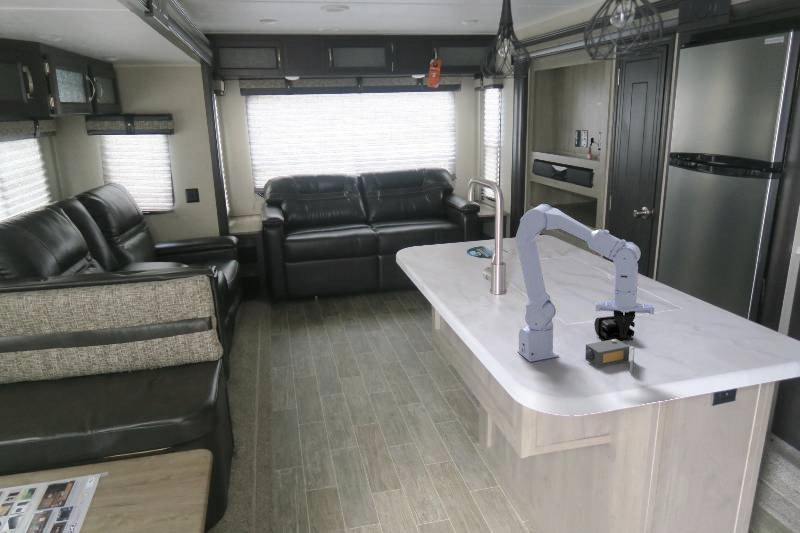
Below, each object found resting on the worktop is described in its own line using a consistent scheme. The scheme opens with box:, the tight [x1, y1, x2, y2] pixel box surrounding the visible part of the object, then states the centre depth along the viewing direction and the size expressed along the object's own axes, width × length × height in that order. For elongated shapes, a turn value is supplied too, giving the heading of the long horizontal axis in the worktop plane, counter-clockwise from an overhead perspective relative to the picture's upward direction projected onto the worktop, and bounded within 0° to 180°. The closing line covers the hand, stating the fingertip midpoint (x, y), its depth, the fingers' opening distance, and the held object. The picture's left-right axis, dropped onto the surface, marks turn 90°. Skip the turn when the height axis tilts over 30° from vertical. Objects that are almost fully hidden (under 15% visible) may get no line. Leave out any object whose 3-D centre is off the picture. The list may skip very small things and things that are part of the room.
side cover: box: [629, 346, 635, 374], centre depth 156 cm, size 9×1×4 cm, turn 157°
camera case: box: [585, 339, 631, 368], centre depth 161 cm, size 11×6×5 cm, turn 106°
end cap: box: [593, 315, 636, 342], centre depth 176 cm, size 10×7×7 cm
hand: (622, 336), depth 154 cm, fingers closed
